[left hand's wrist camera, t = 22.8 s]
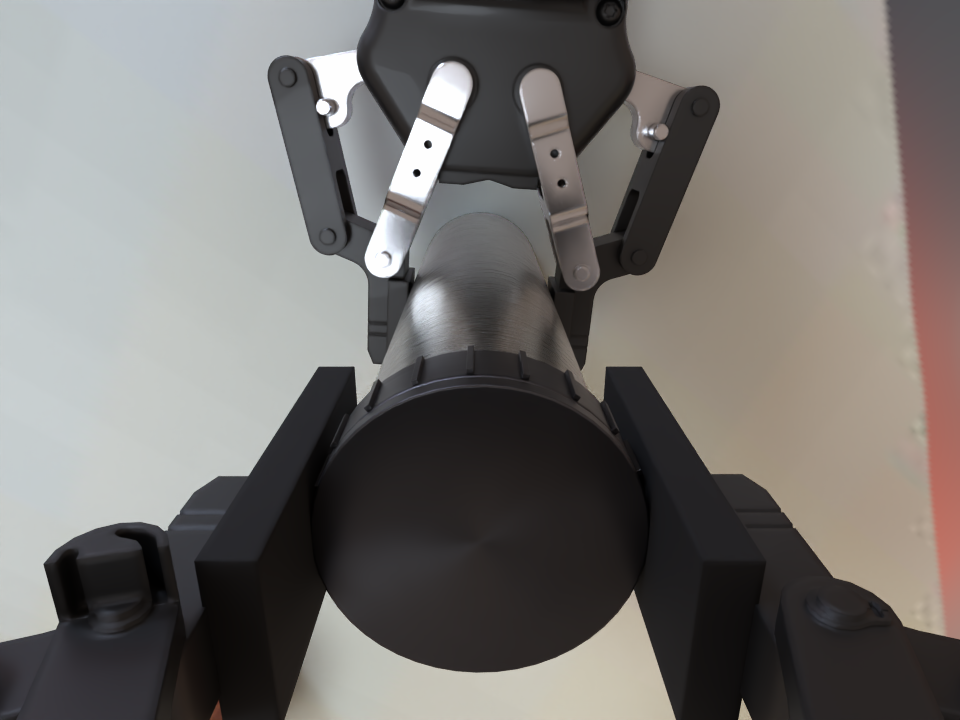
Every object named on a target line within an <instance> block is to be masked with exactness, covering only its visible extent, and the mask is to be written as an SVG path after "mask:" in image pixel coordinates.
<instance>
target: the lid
mask: <svg viewBox="0 0 960 720" xmlns="http://www.w3.org/2000/svg"><path fill="white" fill-rule="evenodd" d="M619 432H620V431H619V429H618V427H617V424H616V422H615V420H614V417H613V415H612V413H611V411H610V408H609V406H608V404H607V403H606V402H605V401H602V402H601V403H600V402H599V401H598V400H597V399H596V397H595V396H594V395H593V394H592V393H590V392H589V391H588V390H587V389H586V388H585V387H584V386H583V385H581V384H580V383H579V382H577V381H576V380H575V379H574V376H573V373H572V372H571V371H569V370H568V369H567V370H566V371H565V373H564V372H562V371H560V370H558V369H556V368H554V367H552V366H550V365H548V364H546V363H544V362H541V361H538V360H535V359H532V358H530V357H527V355H526V352H525V351H521V350H520V351H519V354H513V353H509V352H502V351H490V350H474V346H468V347H467V351H458V352H452V353H446V354H441V355H437V356H434V357H431V358H427V359H424V357H423V355H422V356H419V357H417V359H416V363H414V364H412V365H410V366H407V367H405V368H403V369H401V370H399V371H398V372H396V373H395V374H393V375H391V376H390V377H388V378H386V379H385V380H384V381H382V382H381V381H380V380H379V379H377V380H376V381H375V382H374V383H373V386H372V388H371V391H370V392H369V393H368V394H367V395H366V396H365V398H364V399H363V400H362V401H361V402H360V403H359V404H358V405H357V406H356V408H355V409H354V411H353V412H352V414H351V415H348V414H345V415H344V417H343V419H342V421H341V423H340V425H339V427H338V430H337V432H336V434H335V436H334V438H333V441H332V443H331V445H330V447H332V448H333V450H332V453H331V454H328V456H327V458H326V461H325V463H324V465H323V467H322V470H321V472H320V474H319V476H318V479H317V481H316V483H315V491H316V492H315V495H314V498H313V504H312V510H311V516H310V524H311V536H312V546H313V555H314V560H315V563H316V566H317V570H318V573H319V576H320V578H321V580H322V582H323V584H324V586H325V588H326V590H327V592H328V593H329V595H330V596H331V598H332V599H333V601H334V602H335V604H336V605H337V607H338V608H339V609H340V610H341V612H342V613H343V614H344V615H345V616H346V617H347V618H348V620H349V621H350V622H351V623H352V624H354V625H355V626H356V627H357V628H358V629H359V630H360V631H361V632H363V633H364V634H365V635H366V636H368V637H369V638H371V639H372V640H374V641H375V642H376V643H378V644H379V645H381V646H383V647H385V648H386V649H388V650H390V651H392V652H394V653H396V654H398V655H400V656H402V657H405V658H407V659H410V660H412V661H415V662H418V663H421V664H425V665H428V666H432V667H435V668H441V669H447V670H452V671H461V672H476V673H477V672H499V671H507V670H514V669H519V668H524V667H528V666H532V665H536V664H539V663H542V662H544V661H547V660H550V659H553V658H556V657H558V656H560V655H562V654H564V653H566V652H568V651H570V650H572V649H574V648H575V647H577V646H579V645H580V644H582V643H583V642H585V641H586V640H588V639H590V638H591V637H592V636H593V635H595V634H596V633H597V632H598V631H599V630H601V629H602V628H603V627H604V626H605V625H606V624H607V623H608V622H609V621H610V620H611V619H612V618H613V617H614V616H615V615H616V614H617V613H618V612H619V610H620V609H621V608H622V606H623V605H624V604H625V602H626V601H627V600H628V598H629V597H630V595H631V593H632V591H633V589H634V587H635V586H636V584H637V582H638V580H639V577H640V574H641V572H642V569H643V566H644V564H645V560H646V555H647V549H648V540H649V529H650V521H649V511H648V504H647V500H646V496H645V492H644V489H643V486H642V483H641V481H640V479H639V477H638V476H641V475H643V474H642V471H641V468H640V466H639V464H638V462H637V459H636V457H635V455H634V453H633V451H632V448H631V446H630V444H629V442H628V440H624V441H623V440H622V438H621V435H620V433H619Z"/></svg>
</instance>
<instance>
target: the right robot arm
mask: <svg viewBox="0 0 960 720" xmlns="http://www.w3.org/2000/svg"><path fill="white" fill-rule="evenodd" d="M627 5H628V0H374V6H373V10H372V14H371V17H370V20H369V22H368V24H367V27H366V28H365V30H364V32H363V34H362V35H361V37H360V40H359V43H358V47H357V49H356V50H351V51H345V52H340V53H335V54H330V55H325V56H319V57H314V58H309V59H302V58H299V57H294V56H288V55H287V56H280V57H278V58H276V59H275V60H274V61H273V62H272V63H271V64H270V67H269V69H268V82H269V85H270V89H271V93H272V97H273V101H274V105H275V108H276V112H277V116H278V120H279V124H280V128H281V132H282V135H283V139H284V143H285V147H286V151H287V155H288V158H289V162H290V166H291V170H292V174H293V178H294V181H295V185H296V189H297V193H298V197H299V201H300V204H301V208H302V212H303V216H304V220H305V224H306V227H307V231H308V235H309V239H310V242H311V244H312V246H313V247H314V249H316V250H317V251H318V252H319V253H321V254H324V255H334V254H336V255H338V256H341V257H343V258H345V259H348V260H350V261H352V262H354V263H356V264H358V265H359V266H360V267H361V268H362V269H363V270H364V272H365V273H366V275H367V278H368V352H369V355H370V357H371V360H372V362H373V364H382V363H383V360H384V358H385V355H386V353H387V350H388V348H389V345H390V343H391V340H392V338H393V335H394V332H395V330H396V327H397V325H398V322H399V320H400V317H401V315H402V312H403V310H404V307H405V305H406V302H407V299H408V297H409V294H410V292H411V289H412V287H413V284H414V276H415V268H409V249H410V247H411V244H412V242H413V239H414V237H415V234H416V232H417V230H418V227H419V225H420V222H421V220H422V217H423V215H424V212H425V210H426V208H427V206H428V203H429V201H430V199H431V196H432V194H433V191H434V189H435V186H436V184H437V182H438V180H439V183H447V184H461V185H464V184H469V183H474V182H479V181H484V180H492V181H494V182H497V183H500V184H503V185H506V186H508V187H511V188H517V189H531V190H537V193H538V197H539V201H540V205H541V209H542V212H543V215H544V218H545V222H546V226H547V230H548V234H549V238H550V242H551V246H552V250H553V254H554V258H555V262H556V273H555V277H549V278H548V290H549V292H550V295H551V297H552V300H553V302H554V305H555V307H556V310H557V312H558V315H559V317H560V320H561V323H562V325H563V328H564V330H565V333H566V335H567V338H568V340H569V343H570V345H571V348H572V350H573V353H574V356H575V358H576V361H577V363H578V366H579V368H580V371H581V370H582V368H583V366H584V365H585V361H586V353H587V346H588V336H589V330H590V323H591V315H592V307H593V300H594V295H595V293H596V291H597V289H598V288H599V287H600V286H601V285H602V284H603V283H604V282H606V281H608V280H610V279H613V278H617V277H620V276H624V275H627V274H632V275H643V274H646V273H648V272H649V271H650V270H651V269H652V268H653V267H654V266H655V264H656V262H657V259H658V257H659V255H660V252H661V250H662V247H663V245H664V242H665V240H666V238H667V235H668V233H669V230H670V228H671V226H672V223H673V221H674V218H675V216H676V214H677V211H678V209H679V206H680V204H681V202H682V199H683V197H684V194H685V192H686V190H687V187H688V185H689V182H690V180H691V178H692V175H693V173H694V170H695V168H696V165H697V163H698V161H699V158H700V156H701V153H702V151H703V149H704V146H705V144H706V141H707V139H708V137H709V134H710V132H711V129H712V127H713V125H714V122H715V120H716V117H717V115H718V112H719V108H720V101H719V97H718V95H717V93H716V92H715V91H714V90H713V89H711V88H710V87H707V86H695V87H687V88H684V87H681V86H678V85H675V84H672V83H669V82H667V81H664V80H661V79H658V78H655V77H653V76H650V75H647V74H644V73H641V72H639V71H636V65H635V60H634V56H633V54H632V51H631V49H630V46H629V42H628V38H627V31H626V13H627ZM362 84H365V85H366V86H367V88H368V89H369V91H370V92H371V94H372V96H373V97H374V99H375V100H376V102H377V103H378V105H379V107H380V108H381V110H382V111H383V113H384V115H385V116H386V118H387V119H388V121H389V122H390V124H391V126H392V127H393V129H394V130H395V132H396V134H397V135H398V137H399V138H400V140H401V141H402V143H403V145H404V146H405V149H404V151H403V154H402V156H401V159H400V162H399V164H398V167H397V169H396V172H395V175H394V177H393V180H392V182H391V185H390V187H389V190H388V193H387V196H386V199H385V203H384V206H383V209H382V212H381V214H380V217H379V219H378V222H377V224H376V223H373V222H371V221H369V220H367V219H364V218H362V217H360V216H358V215H357V211H356V207H355V203H354V198H353V194H352V190H351V185H350V181H349V177H348V172H347V168H346V164H345V160H344V155H343V151H342V147H341V142H340V138H339V134H338V130H337V128H338V127H341V126H343V125H345V124H346V123H347V122H348V121H349V120H350V118H351V116H352V110H353V108H352V98H353V95H354V92H355V91H356V89H357V88H358V87H359V86H361V85H362ZM623 103H624V104H625V105H626V106H627V107H628V108H629V110H630V112H631V114H632V126H631V132H630V134H631V139H632V141H633V143H634V144H635V145H636V146H637V147H638V148H640V149H642V152H641V155H640V157H639V160H638V162H637V165H636V168H635V170H634V173H633V175H632V178H631V181H630V183H629V186H628V188H627V191H626V194H625V196H624V199H623V201H622V204H621V207H620V209H619V212H618V214H617V217H616V220H615V222H614V225H613V227H612V230H611V233H610V234H606V235H603V236H599V237H596V238H593V237H592V233H591V229H590V224H589V219H588V207H587V203H586V198H585V194H584V189H583V185H582V181H581V176H580V172H579V168H578V163H577V159H576V158H577V157H578V156H579V155H580V153H581V152H582V151H583V150H584V149H585V147H586V146H587V145H588V144H589V143H590V142H591V140H592V139H593V138H594V137H595V136H596V135H597V133H598V132H599V131H600V130H601V129H602V128H603V126H604V125H605V124H606V123H607V122H608V120H609V119H610V118H611V117H612V116H613V115H614V113H615V112H616V111H617V110H618V109H619V108H620V106H621V105H622V104H623Z"/></svg>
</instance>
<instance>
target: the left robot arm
mask: <svg viewBox="0 0 960 720" xmlns="http://www.w3.org/2000/svg"><path fill="white" fill-rule="evenodd" d="M604 401H605V402H606V403H607V404H608V406H609V408H610V411H611V413H612V415H613V417H614V420H615V422H616V424H617V427H618V429H619V431H620V432H619V433H620V435H621V438H622V440H623V441H624V440H628V442H629V444H630V446H631V448H632V451H633V453H634V455H635V457H636V459H637V462H638V464H639V466H640V468H641V471H642V474H643V475H641V476H638V477H639V479H640V481H641V483H642V486H643V489H644V492H645V496H646V500H647V504H648V511H649V521H650V529H649V540H648V549H647V555H646V560H645V564H644V566H643V569H642V572H641V574H640V577H639V580H638V582H637V584H636V586H635V587H634V591H635V594H636V597H637V601H638V604H639V607H640V610H641V613H642V616H643V619H644V622H645V625H646V628H647V631H648V635H649V638H650V641H651V644H652V647H653V650H654V653H655V656H656V659H657V662H658V665H659V668H660V672H661V675H662V678H663V681H664V684H665V687H666V690H667V693H668V696H669V699H670V702H671V706H672V709H673V712H674V715H675V718H676V720H738V718H739V712H740V706H741V701H742V698H743V700H744V703H745V705H746V707H747V709H748V712H749V714H750V716H751V718H752V720H960V640H959V639H954V638H950V637H945V636H941V635H936V634H931V633H927V632H922V631H918V630H914V629H911V628H907V627H904V626H903V625H902V623H901V621H900V619H899V618H898V617H897V615H896V614H895V613H894V611H893V610H892V608H891V607H890V606H889V605H888V604H886V603H885V602H884V601H882V600H881V599H880V598H878V597H877V596H876V595H874V594H873V593H872V592H870V591H867V590H865V589H863V588H861V587H859V586H857V585H855V584H853V583H851V582H847V581H843V580H839V579H836V578H833V577H832V575H831V574H830V573H829V571H828V570H827V569H826V567H825V566H824V565H823V563H822V562H821V561H820V560H819V558H818V557H817V556H816V554H815V553H814V552H813V550H812V549H811V548H810V546H809V545H808V544H807V543H806V541H805V540H804V539H803V537H802V536H801V535H800V533H799V532H798V531H797V529H796V528H793V524H792V523H791V522H790V520H789V519H788V518H787V516H786V515H785V514H784V513H781V509H780V507H779V506H778V505H777V503H776V502H775V501H774V499H773V498H772V497H771V495H770V494H769V493H768V492H767V490H765V489H764V488H762V487H761V486H759V485H758V484H756V483H755V482H753V481H752V480H750V479H749V478H747V477H746V476H744V475H743V474H710V472H709V471H708V469H707V468H706V466H705V465H704V463H703V462H702V460H701V458H700V457H699V455H698V454H697V452H696V451H695V449H694V448H693V446H692V444H691V443H690V441H689V440H688V438H687V437H686V435H685V434H684V432H683V430H682V429H681V427H680V426H679V424H678V423H677V421H676V419H675V418H674V416H673V415H672V413H671V412H670V410H669V409H668V407H667V405H666V404H665V402H664V401H663V399H662V398H661V396H660V395H659V393H658V391H657V390H656V388H655V387H654V385H653V384H652V382H651V381H650V379H649V377H648V376H647V374H646V373H645V371H644V370H643V368H642V367H606V374H605V389H604ZM356 406H357V397H356V382H355V368H354V367H318V369H317V370H316V372H315V373H314V375H313V377H312V378H311V380H310V381H309V383H308V384H307V386H306V387H305V389H304V391H303V392H302V394H301V395H300V397H299V398H298V400H297V402H296V403H295V405H294V406H293V408H292V409H291V411H290V412H289V414H288V416H287V417H286V419H285V420H284V422H283V423H282V425H281V426H280V428H279V430H278V431H277V433H276V434H275V436H274V437H273V439H272V440H271V442H270V444H269V445H268V447H267V448H266V450H265V451H264V453H263V454H262V456H261V458H260V459H259V461H258V462H257V464H256V465H255V467H254V468H253V470H252V472H251V473H250V475H249V476H218V477H217V478H215V479H214V480H212V481H211V482H209V483H208V484H206V485H205V486H203V487H202V488H200V489H199V490H197V491H196V492H194V493H193V495H192V496H191V497H190V499H189V500H188V501H187V503H186V504H185V505H184V507H183V508H182V509H181V511H180V515H177V516H176V517H175V519H174V520H173V521H172V522H171V524H170V525H169V526H168V531H165V532H164V531H163V530H162V529H161V528H160V527H158V526H156V525H151V524H147V523H142V522H134V523H118V524H114V525H110V526H105V527H101V528H97V529H94V530H92V531H89V532H87V533H85V534H82V535H80V536H77V537H75V538H73V539H72V540H70V541H69V542H67V543H66V544H64V545H63V546H61V547H60V548H58V549H57V550H55V551H54V552H53V554H52V555H51V556H50V557H49V558H48V559H47V561H46V562H45V563H44V568H45V572H46V575H47V579H48V582H49V586H50V590H51V593H52V597H53V601H54V604H55V608H56V612H57V615H58V619H59V624H58V626H57V628H56V630H53V631H49V632H46V633H42V634H38V635H33V636H29V637H24V638H19V639H15V640H10V641H6V642H1V643H0V720H210V718H211V716H212V714H213V711H214V709H215V707H216V705H217V703H218V700H219V704H220V710H221V715H222V720H284V719H285V716H286V713H287V710H288V707H289V704H290V701H291V698H292V694H293V691H294V688H295V685H296V682H297V679H298V676H299V673H300V670H301V667H302V664H303V661H304V657H305V654H306V651H307V648H308V645H309V642H310V639H311V636H312V633H313V630H314V627H315V623H316V620H317V617H318V614H319V611H320V608H321V605H322V602H323V599H324V596H325V593H326V588H325V586H324V584H323V582H322V580H321V578H320V576H319V573H318V570H317V566H316V563H315V560H314V555H313V546H312V536H311V524H310V516H311V510H312V504H313V498H314V495H315V492H316V491H315V483H316V481H317V479H318V476H319V474H320V472H321V470H322V467H323V465H324V463H325V461H326V458H327V456H328V454H331V453H332V450H333V448H332V447H330V445H331V443H332V441H333V438H334V436H335V434H336V432H337V430H338V427H339V425H340V423H341V421H342V419H343V417H344V415H345V414H348V415H351V414H352V412H353V411H354V409H355V408H356Z"/></svg>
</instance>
